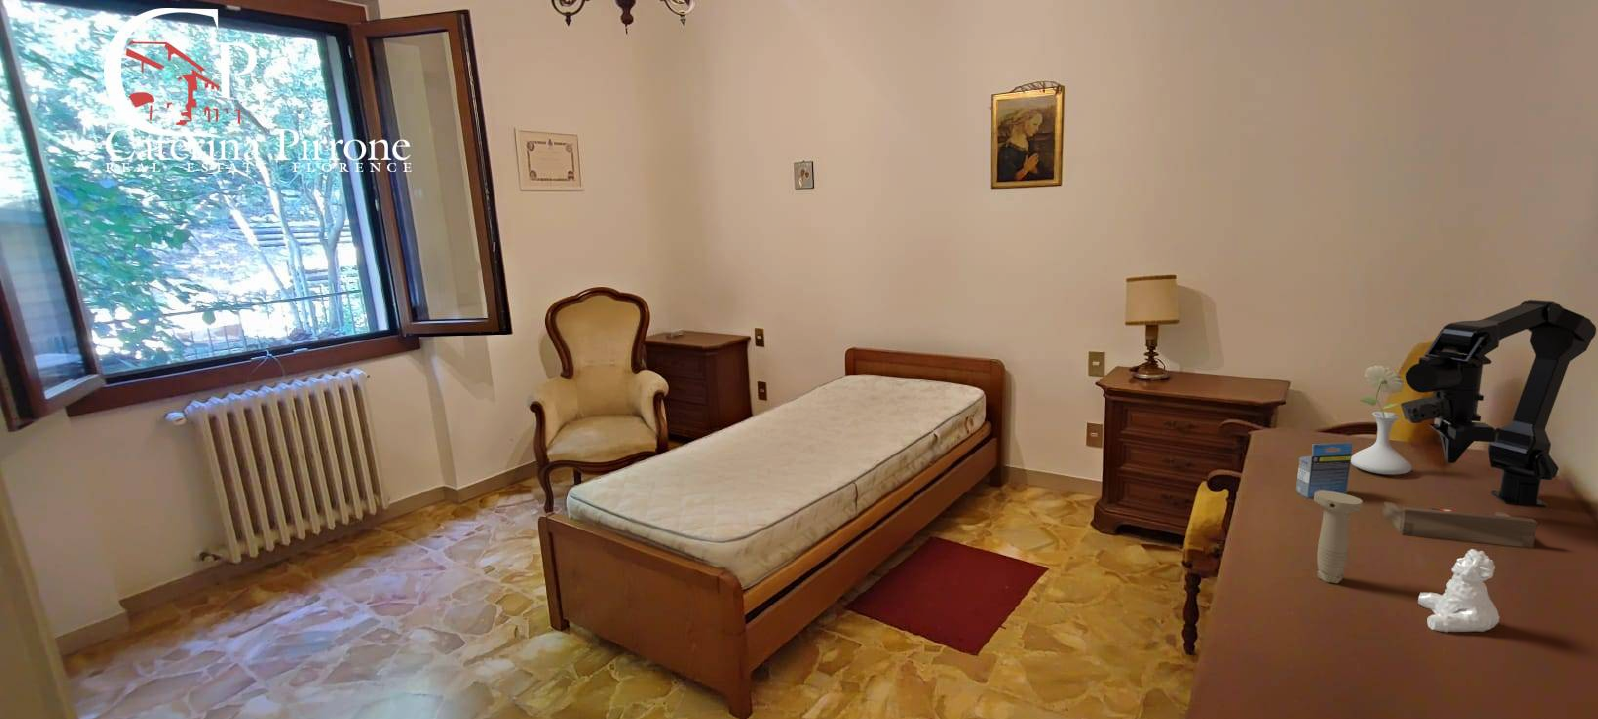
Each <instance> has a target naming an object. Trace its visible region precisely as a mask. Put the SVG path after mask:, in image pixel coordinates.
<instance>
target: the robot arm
mask: <svg viewBox="0 0 1598 719" xmlns="http://www.w3.org/2000/svg"><path fill="white" fill-rule="evenodd" d="M1524 331H1529V332H1530V333H1531V334H1530V336H1529V337H1530V339H1529V342H1530V345H1531V347H1532V348H1531V349H1533V352H1534V355H1535V356H1534V360H1533V363H1532V365H1531V368H1530V369H1529V370H1530V371H1529V374H1528V376H1527V378H1526V382H1525V385H1524V387H1523V389H1522V392H1521V395H1520V398H1519V400H1518V403H1517V406H1516V409H1515V410H1514V411H1515V412H1514V414H1513V417H1512V420H1511V421H1510V422H1509V423H1508V424H1507V425H1505V426H1504V427H1497V428H1494V427H1493V426H1491V425H1489V424H1487V422H1481V420H1482V416H1481V415H1479V414H1478V406H1479V401H1480V402H1484V400H1485V399H1484V398H1485V395H1483V394H1481V393H1480V392H1481V385H1482V378H1483V377H1482V376H1483V371H1484V370H1483V369H1484V365H1485V366H1486V365H1491V364H1492V360H1491V359H1490V358H1489V357H1487V356H1486V355H1487V354H1489V353H1491V352H1492V351H1494V350H1495V349H1497V348H1498V347H1499V345H1500V341H1502V340H1504V339H1506V338H1508V337H1511V336H1514V335H1515V334H1519V333H1521V332H1524ZM1596 334H1597V326H1596V325H1595V324H1594V323H1593V322H1592V321H1591V319H1590V318H1588V317H1586V316H1584V315H1582V314H1580V313H1577V312H1575V311H1573V310H1570V309H1567V308H1565V307H1564V306H1562V304H1560V303H1558V302H1556V301H1551V300H1550V301H1549V300H1540V299H1539V300H1538V299H1529V300H1523V302H1521V303H1520V304H1519V305H1516V306H1514V307H1511V308H1508V309H1506V310H1503V311H1501V312H1497V313H1495V314H1493V315H1491V316H1487V317H1485V318H1482V319H1477V320H1462V321H1457V322H1451V323H1448V324H1445V326H1444V327H1443V328H1442V329H1441V331H1440V332H1439V333H1438V334H1437V336H1436V338H1435V339H1434V341H1433V342H1432V343H1431V345H1430V347H1429V348H1428V349H1427V350H1426V352H1425V354H1424V356H1422V357H1421V356H1420V357H1419V359H1418V363H1416V364H1413V365H1412V366H1410V367H1409V369H1407V372H1405V380H1406V383H1407V385H1408V387H1410V389H1412V390H1413V391H1414V392H1417V393H1424V394H1425V393H1432V392H1433V395H1432V396H1430V397H1423V398H1418V399H1414V400H1409V401H1405V402H1402V403H1400V407H1401V408H1402V409H1401V410H1402V412H1403V414H1404V418H1405V419H1406V420H1408V421H1409V423H1412V424H1419V423H1422V422H1423V421H1428V420H1432V419H1434V423H1429V424H1428V425H1429V426H1430V428H1432V429H1433V430H1435V431H1436V432H1437V433H1438V435H1439V437H1440V440H1441V444H1442V449H1443V452H1444V453H1443V454H1444V458H1445V461H1446V462H1447V463H1449V464H1454V463H1457V461H1458V459H1460V458H1461V456H1462V455H1463V454H1464V453H1465V452H1466V451H1467V449H1468V448H1469V447H1471V445H1473V443H1474V442H1480V443H1481V442H1482V443H1488V448H1487V451H1488V452H1487V453H1488V457H1489V458H1488V459H1489V463H1490V464H1489V465H1490V467H1491V468H1494V469H1499V470H1502V474H1501V480H1500V486H1499V490H1490V493H1491V494H1492V495H1493V496H1495V497H1496V498H1497V499H1499V500H1501V502H1503V503H1504V504H1512V505H1523V506H1534V507H1535V506H1536V507H1547V504H1546V503H1545V502H1544V501H1543V500H1541V499H1539V493H1540V488H1541V487H1540V486H1541V480H1544V481H1545V480H1547V481H1551V480H1553V478H1556V476H1557V474H1558V471H1559V466H1558V465H1557V463H1556V462H1555V460H1554V459H1553V458H1552V456H1551V455H1550V450H1551V446H1552V443H1551V441H1550V439H1549V437H1548V434H1547V432H1546V427H1547V424H1548V421H1549V419H1550V416H1551V414H1552V410H1553V409H1554V405H1555V402H1556V400H1557V398H1558V395H1559V393H1560V389H1561V386H1562V384H1563V381H1564V378H1565V375H1566V373H1567V370H1568V368H1569V365H1570V363H1571V361H1573V360H1574V359H1576V358H1577V357H1579V356H1580V355H1582V354H1583V353H1585V352H1586V351H1587V349H1588V348H1589V345H1590V344H1591V342H1592V340H1593V339H1594V338H1595V336H1596Z"/></svg>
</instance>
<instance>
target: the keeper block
mask: <svg viewBox="0 0 1598 719" xmlns="http://www.w3.org/2000/svg"><path fill="white" fill-rule="evenodd" d="M1428 509H1429V508H1416V507H1415V508H1414V507H1406V506H1404V507H1403V506H1402V509H1400V508H1399V507H1398V506H1397V505H1396V504H1395V503H1394V502H1390V501H1389V502H1388V501H1384V502H1383V508H1382V514H1383V516H1384V517H1385V518H1386V519H1388V521H1389V522H1390V523H1391V524H1392V525H1393V527H1395V528H1396V529H1397V530H1398V531H1399V533H1400V534H1401V535H1404V536H1415V537H1423V538H1432V539H1442V540H1453V541H1462V542H1472V543H1480V544H1482V543H1483V544H1490V545H1501V546H1510V547H1511V546H1512V547H1518V548H1519V547H1521V548H1530V549H1533V548H1534V546H1535V545H1534V544H1535V538H1536V532H1537V527H1538V521H1536V520H1535V519H1533V518H1527V517H1526V518H1525V517H1515V516H1510V515H1509V514H1507V513H1506V512H1501V511H1495V512H1494V515H1492V514H1483V513H1480V514H1479V513H1470V512H1459V511H1457V512H1450V511H1439V510H1428Z"/></svg>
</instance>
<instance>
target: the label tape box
mask: <svg viewBox="0 0 1598 719" xmlns="http://www.w3.org/2000/svg"><path fill="white" fill-rule="evenodd" d="M1332 448H1333V449H1334V450H1338V451H1327V450H1331V449H1332ZM1352 450H1353V443H1352V442H1348V443H1345V442H1344V443H1320V444H1319V443H1318V444H1316V443H1314V444H1313V443H1312V454H1311V455H1304V456H1300V457H1299V460H1298V469H1297V475H1296V476H1297V477H1296V486H1295V492H1297V493H1298V494H1299V495H1301V496H1303V497H1305V498H1309V499H1311V498H1314V493H1315V492H1316V491H1320V490H1325V491H1334V492H1339V493H1344V494H1347V489H1348V483H1349V477H1350V476H1349V475H1350V468H1351V464H1352V463H1351V457H1352V456H1353V455H1352Z"/></svg>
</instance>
